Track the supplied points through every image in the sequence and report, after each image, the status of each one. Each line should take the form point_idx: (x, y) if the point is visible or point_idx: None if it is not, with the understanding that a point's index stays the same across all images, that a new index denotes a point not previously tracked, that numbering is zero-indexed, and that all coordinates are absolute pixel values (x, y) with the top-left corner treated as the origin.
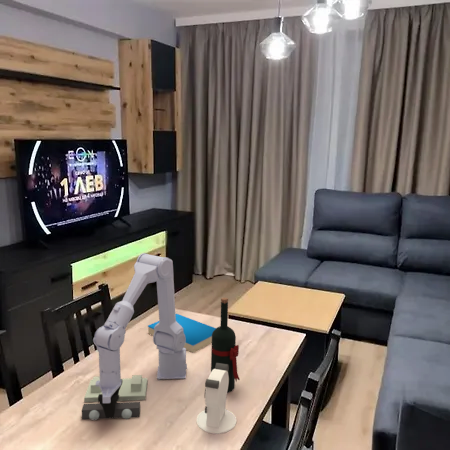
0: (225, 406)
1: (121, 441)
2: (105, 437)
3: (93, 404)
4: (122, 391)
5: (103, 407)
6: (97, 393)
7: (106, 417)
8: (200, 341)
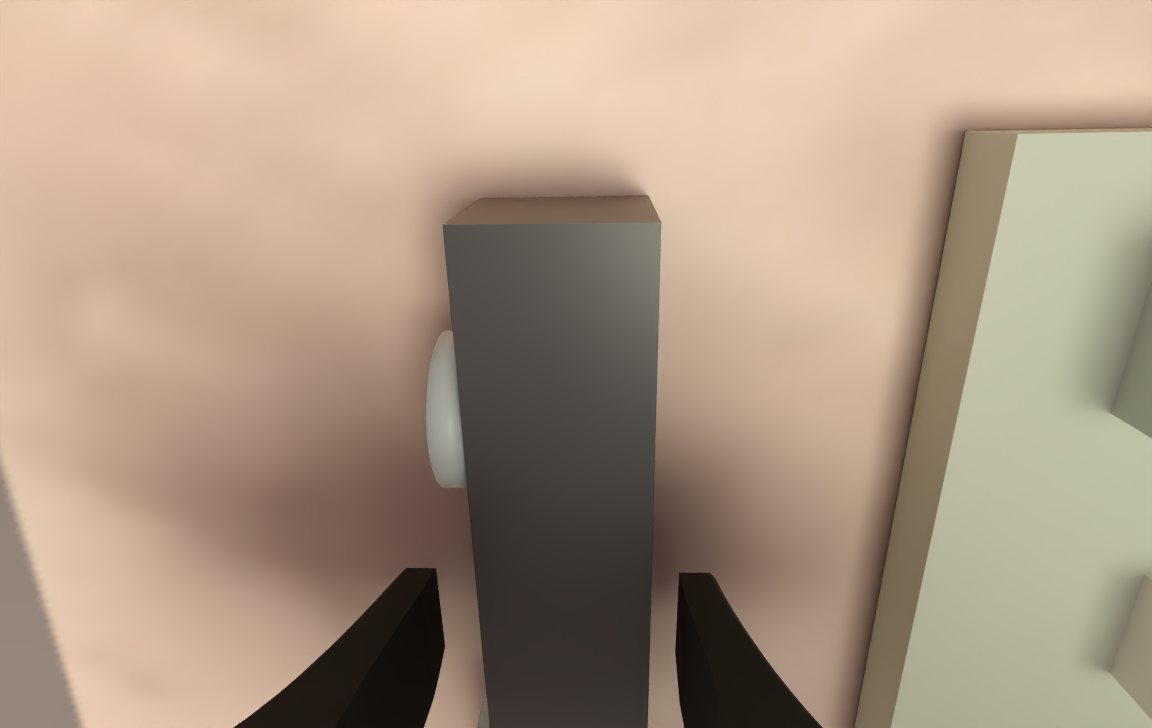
0: None
1: (129, 692)
2: (156, 550)
3: (627, 409)
4: (1030, 697)
5: (262, 717)
6: (1094, 360)
7: (400, 577)
8: None
